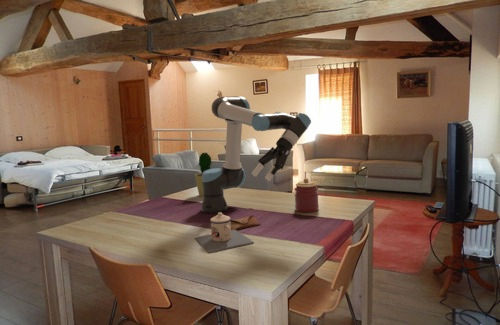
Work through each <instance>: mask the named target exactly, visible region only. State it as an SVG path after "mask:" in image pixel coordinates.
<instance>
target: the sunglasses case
mask: <svg viewBox="0 0 500 325" xmlns="http://www.w3.org/2000/svg"><path fill="white" fill-rule="evenodd" d="M230 223H231V230H237V231H241V230H243V229H244V230H245V229H248V228H254V227H258V226H261V225H262V224H261V223H260V222H259V221H258V220H257V218H256V217H255V216H254V215H250V216H249V215H248V216H245V217H240V218H236V219H231V221H230Z"/></svg>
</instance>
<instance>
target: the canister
mask: <svg viewBox="0 0 500 325" xmlns="http://www.w3.org/2000/svg"><path fill="white" fill-rule="evenodd" d="M317 185H318V184H317V183H316V182H314V181H311V180H309V179H308V177H307V178H304V179H303V180H302V181H298V182H297V183H296V184H295V186H296V187H294V188H293V189H294V191H295V193H294V200H295V201H294V202H295V203H294V204H295V205H294V209H295V211H297V212H299V213H315V212H318V210H319V206H320V205H319V193H318V190H319V187H317Z"/></svg>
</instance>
